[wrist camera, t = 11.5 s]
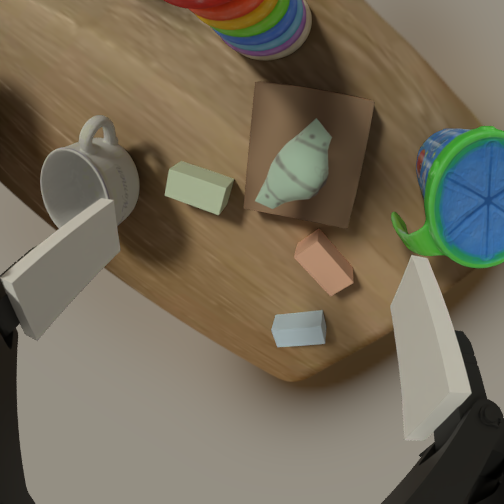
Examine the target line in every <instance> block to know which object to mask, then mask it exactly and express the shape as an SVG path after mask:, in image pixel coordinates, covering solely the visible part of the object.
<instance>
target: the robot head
mask: <svg viewBox="0 0 504 504" xmlns="http://www.w3.org/2000/svg"><path fill="white" fill-rule="evenodd" d="M331 138H332V137H331V135H330V134H329V133H328V132H327V130H326V129H325V128H324V127H323V126H322V124H321V123H320V122H319V121H318V119H317V118H316V119H315V120H314V121H313V122H312V123H310V124H309V125H308V126H307V127H306V128H305V129H304V130H303V131H302V132H300V133H299V134H298V135H297V136H296V137H294V138H293V139H292V140H290V141H289V142H288V143H287V144H286V145H285V146H284V147H283V148H282V149H281V150H280V152H279V153H278V154H277V155H276V157H275V159H274V160H273V162H272V164H271V166H270V169H269V172H268V175H267V178H266V180H265V182H264V184H263V186H262V188H261V190H260V192H259V194H258V196H257V198H256V200H255V201H256V202H258V203H260V204H262V205H265V206H267V207H269V208H271V209H274V208H276V207H278V206H280V205H281V204H283V203H285V202H290V201H294V200H304V199H310V198H312V197H314V196H315V195H317V194H318V192H319V191H320V189H321V188H322V187H323V186H324V185H325V184H326V181H327V178H328V174H329V173H328V148H329V145H330V142H331Z"/></svg>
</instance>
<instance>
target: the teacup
mask: <svg viewBox="0 0 504 504" xmlns="http://www.w3.org/2000/svg"><path fill="white" fill-rule="evenodd" d="M101 127H103V131H104V138H93V137H94V135H95V133H96V132H97V130H98V129H99V128H101ZM40 185H41V193H42V198H43V201H44V204H45V207H46V209H47V212H48V213H49V215H50V217H51V219H52V220H53V222H54V223H55V225H56V226H57V227H58V228H61V227H62V226H63V225H65V224H66V223H67V222H69V221H70V220H71V219H73V218H74V217H75V216H77V215H78V214H80V213H81V212H82V211H84V210H85V209H87V208H88V207H89V206H91V205H92V204H94V203H95V202H96V201H98V200H99V199H101V198H104V199H110V200H114V205H115V214H116V222H117V226H118V225H119V224H120V223H121V222H122V221H124V220H125V219H126V218H127V217H128V216H129V215H130V213H131V212H132V210H133V209H134V207H135V205H136V203H137V200H138V196H139V176H138V172H137V169H136V166H135V164H134V162H133V160H132V158H131V157H130V155H129V154H128V153H127V151H126V150H125V149H124V148H123V147H122V146H120V145H119V144H118V138H117V137H116V134H115V127H114V125H113V122H112V121H111V120H110V119H109V118H108V117H105V116H103V115H97V116H94V117H92V118H91V119H89V120H88V121H87V122H86V123H85V125H84V126H83V128H82V130H81V132H80V136H79V142H77V143H74V144H72V145H69V146H67V147H62V148H58V149H56V150H54V151H52V152H51V153H50V154H49V155H48V156H47V158H46V159H45V161H44V164H43V166H42V170H41V176H40Z"/></svg>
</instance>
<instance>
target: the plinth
mask: <svg viewBox="0 0 504 504" xmlns="http://www.w3.org/2000/svg"><path fill="white" fill-rule="evenodd" d="M374 103H375V102H374V101H372V100H369V99H365V98H360V97H356V96H351V95H346V94H341V93H336V92H331V91H326V90H320V89H314V88H308V87H302V86H295V85H287V84H280V83H271V82H262V81H260V82H255V90H254V100H253V110H252V121H251V131H250V142H249V153H248V163H247V175H246V186H245V197H244V208H243V209H249V210H254V211H259V212H265V213H270V214H276V215H281V216H286V217H291V218H296V219H301V220H306V221H311V222H316V223H321V224H326V225H331V226H336V227H341V228H345V229H348V225H349V221H350V217H351V213H352V209H353V205H354V200H355V196H356V192H357V188H358V183H359V179H360V174H361V170H362V165H363V160H364V156H365V151H366V146H367V141H368V136H369V130H370V125H371V120H372V114H373V108H374ZM316 118H317V119H318V121H319V122H320V123H321V124H322V126H323V127H324V128H325V129H326V130H327V132H328V133H329V134H330V135H331V137H332V138H331V142H330V145H329V148H328V173H329V174H328V178H327V181H326V184H325V185H324V186H323V187H322V188H321V189H320V191H319V192H318V194H317V195H315V196H314V197H312V198H310V199H304V200H294V201H290V202H285V203H283V204H281V205H280V206H278V207H276V208H274V209H271V208H269V207H267V206H265V205H262V204H260V203H258V202H256V201H255V200H256V198H257V196H258V194H259V192H260V190H261V188H262V186H263V184H264V182H265V180H266V178H267V175H268V172H269V169H270V166H271V164H272V162H273V160H274V159H275V157H276V155H277V154H278V153H279V152H280V150H281V149H282V148H283V147H284V146H285V145H286V144H287V143H288V142H289V141H290V140H292V139H293V138H294V137H296V136H297V135H298V134H299V133H300V132H302V131H303V130H304V129H305V128H306V127H307V126H308V125H309V124H310V123H312V122H313V121H314V120H315V119H316Z"/></svg>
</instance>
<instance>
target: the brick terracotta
mask: <svg viewBox="0 0 504 504" xmlns="http://www.w3.org/2000/svg"><path fill="white" fill-rule="evenodd" d="M294 258H295V259H296V260H297V261H298V262H299V263H300V264H301V265H302V266H303V268H304V269H305V270H306V271H307V272H308V273H309V274H310V275H311V276H312V277H313V278H314V279H315V280H316V281H317V282H318V284H319V285H320V286H321V287H322V288H323V289H324V290H325V291H326V292H327V293H328V294H329V295H330V296H332V295H334V294H335V293H337V292H339V291H340V290H342V289H344V288H345V287H347V286H349V285H351V284H352V283H354V281H353V267H352V266H351V265H350V263H349V262H348V261H347V260H346V259H345V258H344V256H343V255H342V254H341V253H340V252H339V251H338V249H337V248H336V247H335V246H334V245H333V244H332V242H331V241H330V240H329V239H328V238H327V237H326V236H325V234H324V233H323V232H322V231H321V230H320V229H319V228H318V229H317V230H316V231H314V232H313V233H311V234H310V235H309V236H307V237H306V238H304V239H303V240H302V241H300V242H299V243H297V247H296V251H295V255H294Z"/></svg>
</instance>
